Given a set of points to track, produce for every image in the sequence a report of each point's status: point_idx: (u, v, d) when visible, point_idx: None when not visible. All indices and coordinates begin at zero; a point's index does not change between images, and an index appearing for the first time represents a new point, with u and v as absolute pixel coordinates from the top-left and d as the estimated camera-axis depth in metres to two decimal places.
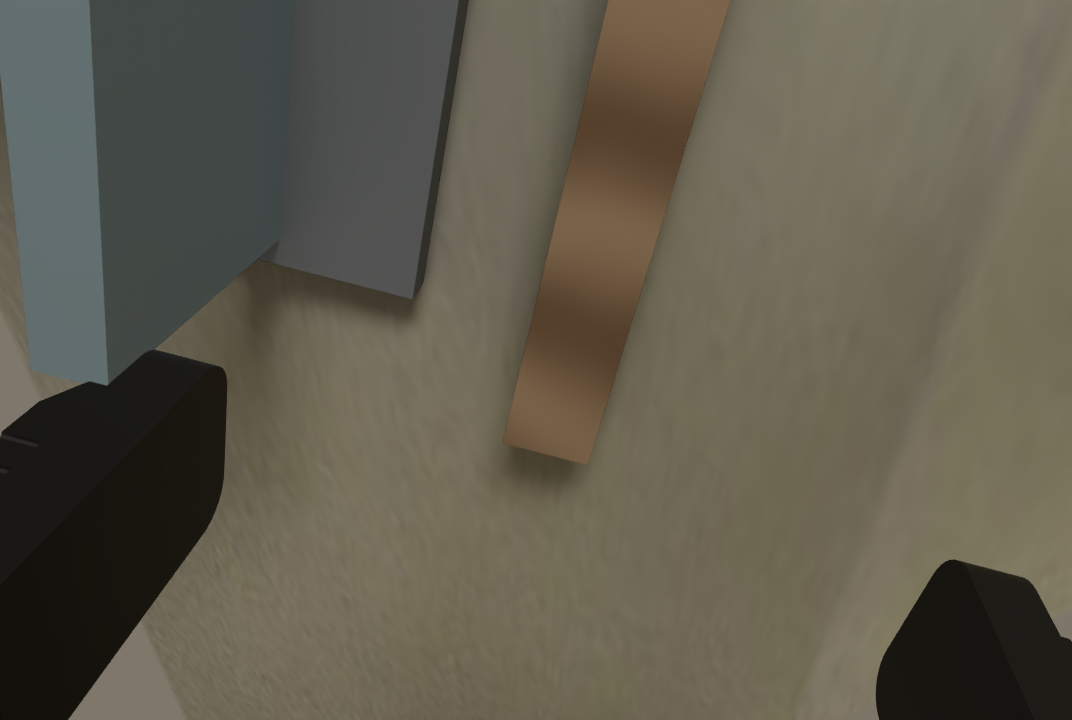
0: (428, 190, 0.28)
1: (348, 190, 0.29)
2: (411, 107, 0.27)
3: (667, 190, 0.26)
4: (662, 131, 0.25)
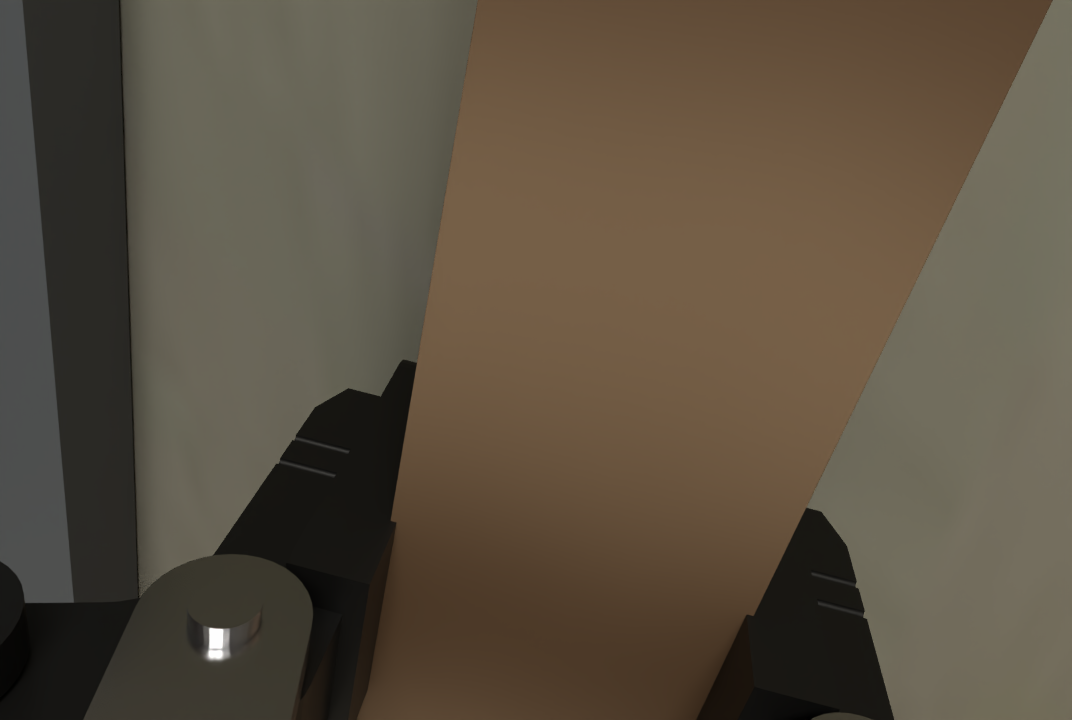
0: None
1: None
2: None
3: None
4: (640, 655, 0.08)
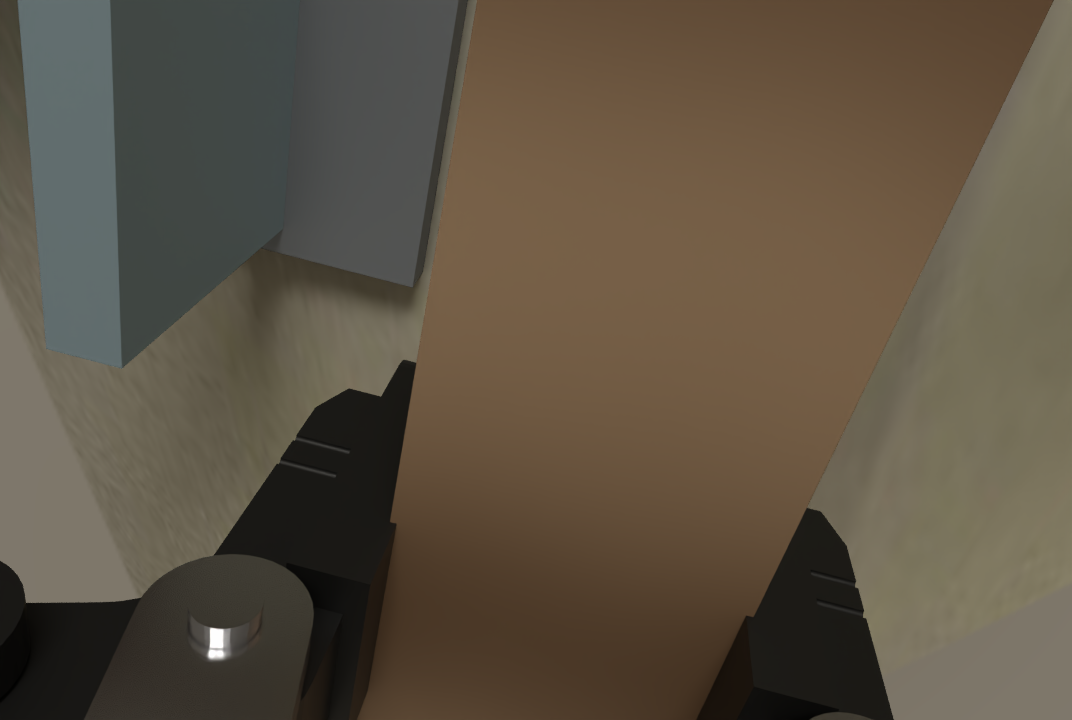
0: (428, 181, 0.29)
1: (350, 180, 0.30)
2: (412, 100, 0.28)
3: None
4: (640, 657, 0.08)
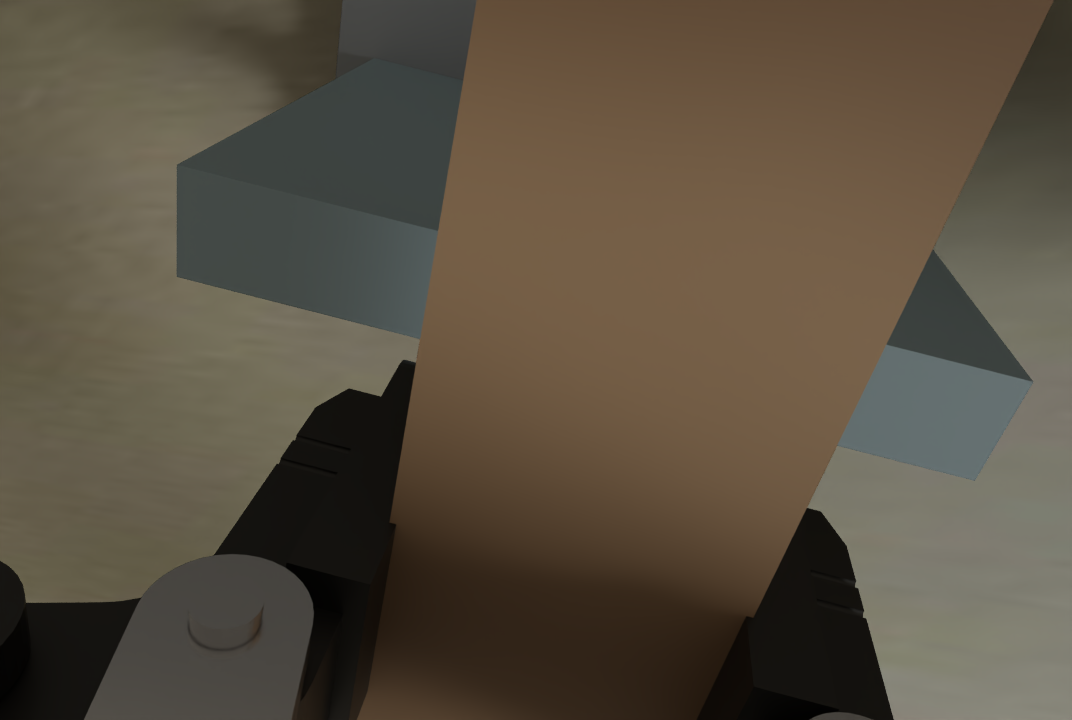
0: None
1: None
2: None
3: None
4: (640, 659, 0.08)
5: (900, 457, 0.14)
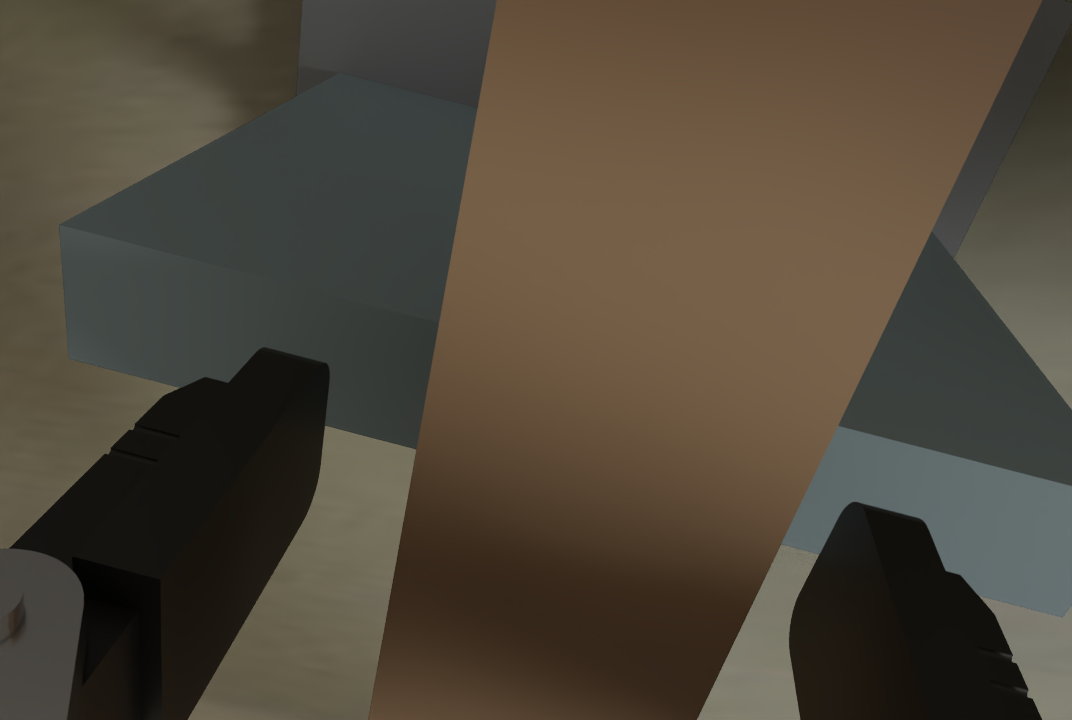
0: None
1: None
2: None
3: None
4: (648, 634, 0.08)
5: None
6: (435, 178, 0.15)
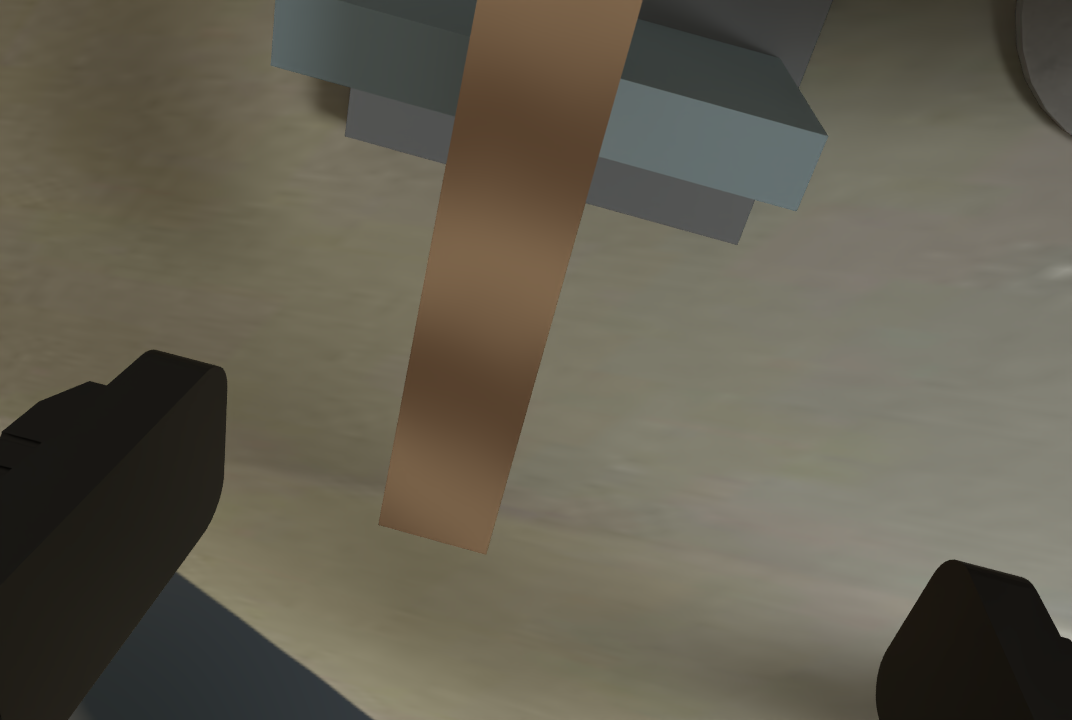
0: None
1: None
2: None
3: (575, 215, 0.19)
4: (567, 136, 0.18)
5: (747, 194, 0.22)
6: None
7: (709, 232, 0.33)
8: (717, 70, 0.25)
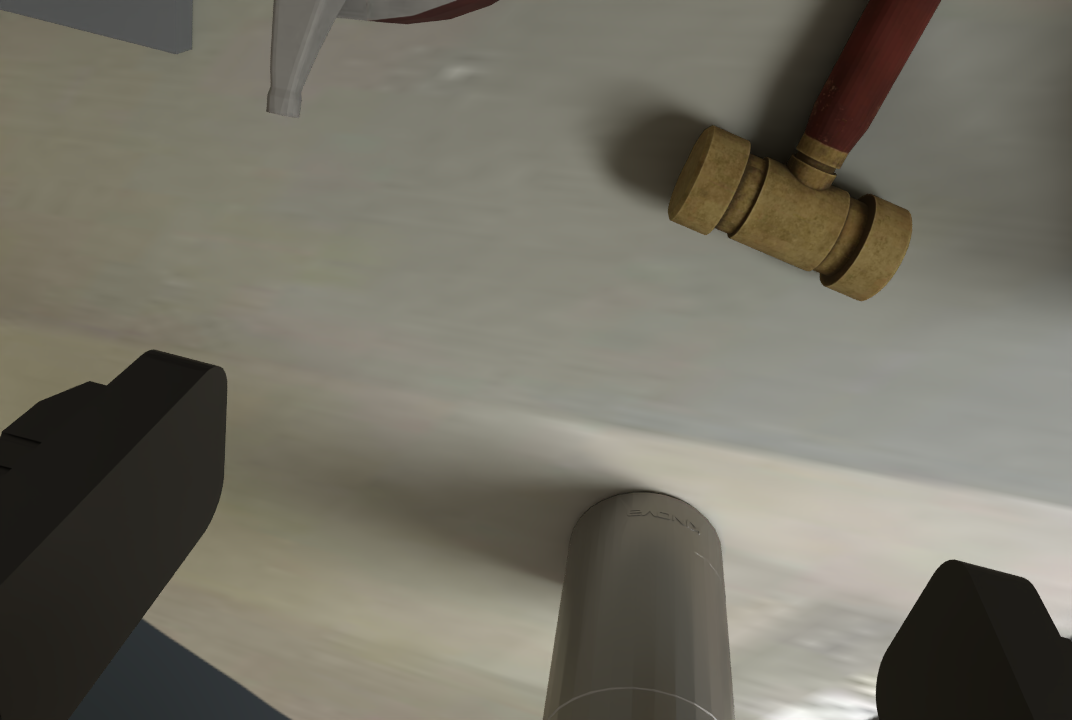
0: None
1: None
2: None
3: None
4: None
5: None
6: None
7: (151, 43, 0.40)
8: None
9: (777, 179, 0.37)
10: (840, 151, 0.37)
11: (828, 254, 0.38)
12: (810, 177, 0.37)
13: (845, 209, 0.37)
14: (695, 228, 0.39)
